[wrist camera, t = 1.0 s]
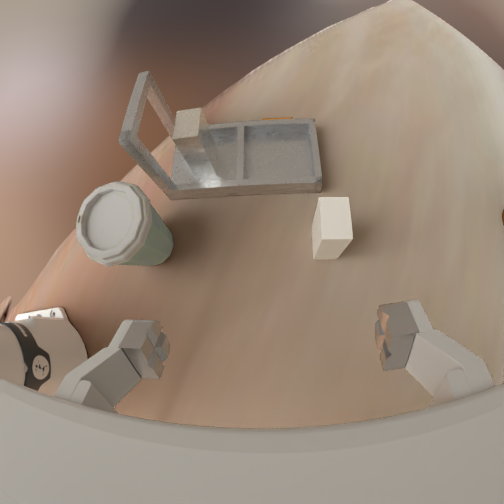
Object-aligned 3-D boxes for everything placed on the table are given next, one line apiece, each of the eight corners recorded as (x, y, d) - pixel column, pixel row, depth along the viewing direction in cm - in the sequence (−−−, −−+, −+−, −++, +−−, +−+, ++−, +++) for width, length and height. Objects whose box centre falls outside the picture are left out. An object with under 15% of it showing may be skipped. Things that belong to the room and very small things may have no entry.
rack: (171, 200, 47) (118, 142, 30) (178, 138, 50) (139, 71, 32) (320, 192, 44) (336, 121, 27) (312, 129, 47) (319, 50, 30)
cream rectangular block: (313, 259, 42) (322, 239, 32) (311, 226, 43) (319, 197, 33) (336, 259, 42) (353, 238, 31) (334, 226, 43) (348, 196, 32)
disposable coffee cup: (189, 214, 46) (151, 170, 31) (184, 282, 44) (137, 263, 29) (132, 217, 47) (81, 180, 33) (124, 280, 45) (65, 261, 30)
